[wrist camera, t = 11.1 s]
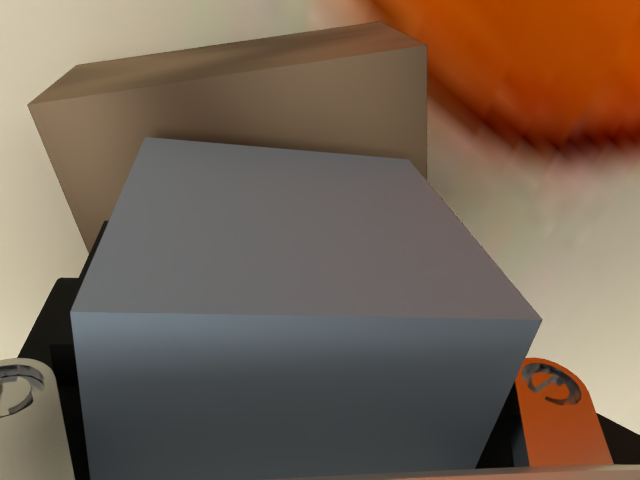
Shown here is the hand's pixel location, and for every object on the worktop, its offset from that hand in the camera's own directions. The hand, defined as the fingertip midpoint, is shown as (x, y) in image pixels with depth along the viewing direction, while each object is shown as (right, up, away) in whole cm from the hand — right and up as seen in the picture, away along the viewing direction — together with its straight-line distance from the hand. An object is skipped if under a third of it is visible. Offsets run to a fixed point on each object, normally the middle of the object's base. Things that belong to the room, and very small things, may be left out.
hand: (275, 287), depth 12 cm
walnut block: (-1, +3, +6) cm, 7 cm away
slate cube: (0, +1, +1) cm, 1 cm away
